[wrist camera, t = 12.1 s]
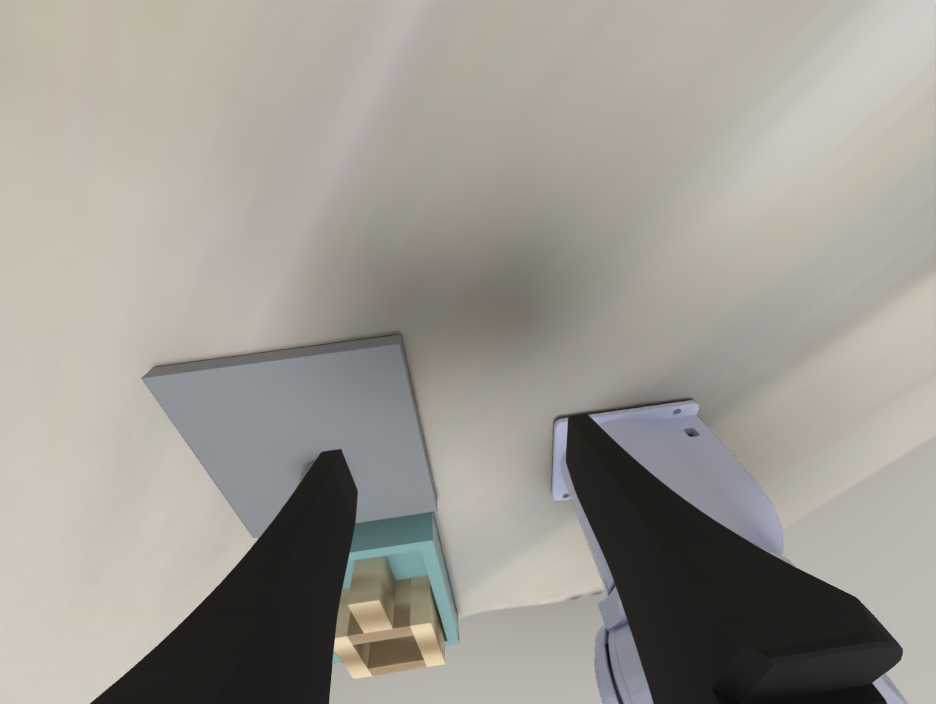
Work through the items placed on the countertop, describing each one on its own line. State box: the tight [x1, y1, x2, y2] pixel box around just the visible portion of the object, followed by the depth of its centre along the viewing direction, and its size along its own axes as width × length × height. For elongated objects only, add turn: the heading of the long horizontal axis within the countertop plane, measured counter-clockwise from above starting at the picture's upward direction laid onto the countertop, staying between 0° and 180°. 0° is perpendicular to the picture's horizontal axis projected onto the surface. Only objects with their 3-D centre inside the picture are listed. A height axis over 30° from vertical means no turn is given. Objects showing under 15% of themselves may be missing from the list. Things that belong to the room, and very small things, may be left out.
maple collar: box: [334, 556, 445, 679], centre depth 31 cm, size 12×8×4 cm, turn 6°
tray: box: [332, 512, 459, 664], centre depth 32 cm, size 12×17×2 cm
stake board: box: [141, 335, 437, 538], centre depth 22 cm, size 14×13×5 cm
